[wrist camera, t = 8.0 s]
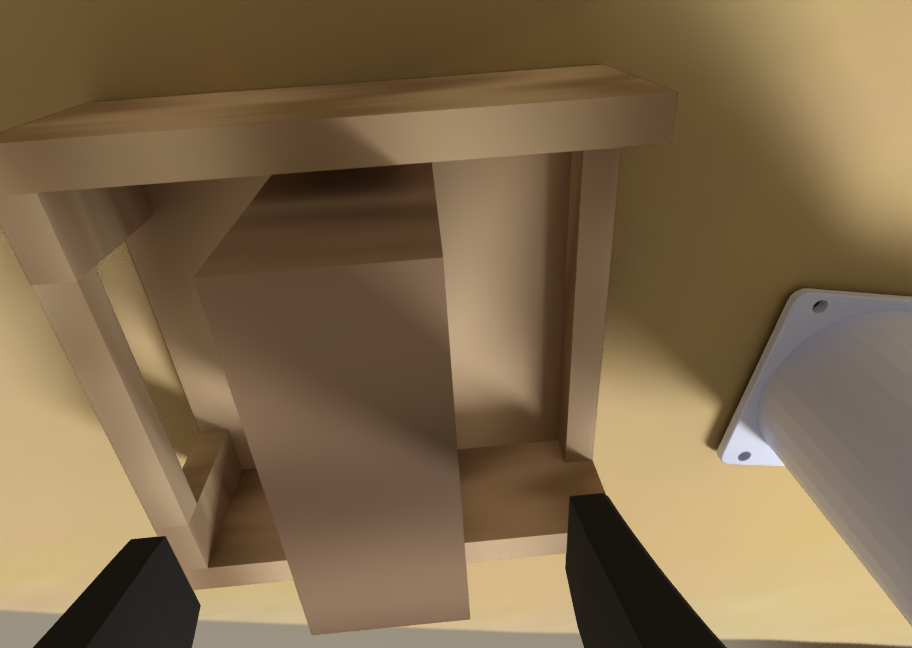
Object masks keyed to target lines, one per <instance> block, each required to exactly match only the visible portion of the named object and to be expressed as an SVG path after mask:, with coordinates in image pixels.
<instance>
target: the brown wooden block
mask: <svg viewBox="0 0 912 648" xmlns="http://www.w3.org/2000/svg"><path fill="white" fill-rule="evenodd" d="M193 280H194V283H195V286H196V289H197V292H198V295H199V298H200V301H201V304H202V307H203V310H204V313H205V316H206V319H207V322H208V325H209V328H210V331H211V334H212V337H213V340H214V343H215V346H216V349H217V352H218V355H219V358H220V361H221V364H222V367H223V370H224V373H225V376H226V379H227V382H228V385H229V388H230V391H231V394H232V397H233V400H234V403H235V406H236V409H237V412H238V415H239V418H240V421H241V424H242V427H243V430H244V433H245V436H246V439H247V442H248V445H249V448H250V451H251V454H252V457H253V460H254V463H255V466H256V469H257V472H258V475H259V478H260V481H261V484H262V487H263V490H264V493H265V496H266V499H267V502H268V505H269V508H270V511H271V514H272V517H273V520H274V523H275V526H276V529H277V532H278V535H279V538H280V541H281V544H282V547H283V550H284V553H285V556H286V559H287V562H288V565H289V568H290V571H291V574H292V577H293V580H294V583H295V586H296V589H297V592H298V595H299V598H300V601H301V604H302V607H303V610H304V613H305V616H306V619H307V622H308V625H309V628H310V631H311V634H312V635H318V634H328V633H339V632H348V631H358V630H369V629H377V628H378V629H379V628H388V627H398V626H408V625H418V624H428V623H438V622H448V621H458V620H468V619H470V610H469V597H468V583H467V570H466V556H465V543H464V530H463V516H462V503H461V489H460V476H459V462H458V449H457V436H456V422H455V409H454V395H453V382H452V368H451V355H450V342H449V328H448V315H447V301H446V288H445V274H444V261H443V251H442V243H441V235H440V226H439V218H438V210H437V202H436V193H435V185H434V177H433V168H432V162H428V163H415V164H402V165H390V166H377V167H364V168H351V169H338V170H325V171H312V172H299V173H287V174H274V175H271V176H270V178H269V179H268V180H267V181H266V183H265V184H264V185H263V187H262V188H261V189H260V191H259V192H258V193H257V195H256V196H255V197H254V198H253V200H252V201H251V202H250V204H249V205H248V206H247V208H246V209H245V210H244V212H243V213H242V214H241V215H240V217H239V218H238V219H237V221H236V222H235V223H234V225H233V226H232V227H231V229H230V230H229V231H228V233H227V234H226V235H225V236H224V238H223V239H222V240H221V242H220V243H219V244H218V246H217V247H216V248H215V250H214V251H213V252H212V253H211V255H210V256H209V257H208V259H207V260H206V261H205V263H204V264H203V265H202V267H201V268H200V269H199V270H198V272H197V273H196V274H195V276H194V277H193Z"/></svg>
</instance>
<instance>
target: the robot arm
mask: <svg viewBox="0 0 912 648" xmlns="http://www.w3.org/2000/svg"><path fill="white" fill-rule="evenodd" d="M818 301H820V303H819V304H818V305H817V306H815V307H813V306H814V304H815V303H816V302H818ZM742 452H743V453H742ZM717 455H718V457H719V458H720V460H721V461H722V462H723V463H726V464H743V465H770V466H786V468H787V469H788V470H789V471H790V473H791V474H792V475H793V477H794V478H795V479H796V480H797V482H798V483H799V484H800V485H801V487H802V488H803V489H804V490H805V492H806V493H807V494H808V496H809V497H810V498H811V499H812V501H813V502H814V503H815V504H816V506H817V507H818V508H819V509H820V511H821V512H822V513H823V515H824V516H825V517H826V518H827V520H828V521H829V522H830V523H831V525H832V526H833V527H834V529H835V530H836V531H837V532H838V534H839V535H840V536H841V537H842V539H843V540H844V541H845V542H846V544H847V545H848V546H849V548H850V549H851V550H852V551H853V553H854V554H855V555H856V556H857V558H858V559H859V560H860V561H861V563H862V564H863V565H864V567H865V568H866V569H867V570H868V572H869V573H870V574H871V575H872V577H873V578H874V579H875V580H876V582H877V583H878V584H879V586H880V587H881V588H882V589H883V591H884V592H885V593H886V594H887V596H888V597H889V598H890V599H891V601H892V602H893V603H894V605H895V606H896V607H897V608H898V610H899V611H900V612H901V613H902V615H903V616H904V617H905V619H906V620H907V621H908V622H909V624H910V625H911V626H912V296H899V295H886V294H873V293H860V292H848V291H835V290H822V289H809V288H805V289H800V290H798V291H796V292H794V293H793V294H792V295H791V296H790V297H789V299H788V301H787V303H786V305H785V307H784V309H783V311H782V313H781V315H780V318H779V320H778V322H777V324H776V326H775V328H774V330H773V332H772V335H771V337H770V339H769V341H768V343H767V345H766V347H765V349H764V352H763V354H762V356H761V358H760V360H759V362H758V364H757V366H756V369H755V371H754V373H753V375H752V377H751V379H750V381H749V384H748V386H747V388H746V390H745V392H744V394H743V396H742V398H741V401H740V403H739V405H738V407H737V409H736V411H735V413H734V415H733V418H732V420H731V422H730V424H729V426H728V428H727V430H726V432H725V435H724V437H723V439H722V441H721V443H720V445H719V447H718V450H717ZM565 569H566V574H567V578H568V583H569V588H570V593H571V598H572V602H573V607H574V612H575V616H576V621H577V625H578V629H579V632H580V635H581V638H582V642H583V645H584V648H726V647H725V645H724V644H723V643H722V642H721V641H720V640H719V639H718V638H717V637H716V635H715V634H714V633H713V632H712V631H711V630H710V629H709V627H708V626H707V625H706V624H705V623H704V622H703V620H702V619H701V618H700V617H699V616H698V615H697V613H696V612H695V611H694V610H693V609H692V607H691V606H690V605H689V604H688V602H687V601H686V600H685V599H684V598H683V596H682V595H681V594H680V593H679V591H678V590H677V589H676V588H675V587H674V585H673V584H672V583H671V582H670V580H669V579H668V578H667V577H666V575H665V574H664V573H663V572H662V570H661V569H660V568H659V567H658V565H657V564H656V563H655V561H654V560H653V559H652V557H651V556H650V555H649V553H648V552H647V551H646V549H645V548H644V547H643V545H642V544H641V543H640V541H639V540H638V539H637V537H636V536H635V535H634V533H633V532H632V530H631V529H630V528H629V526H628V525H627V523H626V522H625V521H624V519H623V518H622V516H621V515H620V513H619V512H618V510H617V509H616V508H615V506H614V505H613V503H612V501H611V500H610V498H609V497H608V496H607V495H605V494H604V493H598V494H587V495H577V496H570V497H569V514H568V532H567V549H566V567H565ZM200 606H201V605H200V603H199V601H198V599H197V597H196V595H195V593H194V591H193V589H192V587H191V585H190V583H189V581H188V579H187V577H186V575H185V573H184V571H183V569H182V567H181V566H180V564H179V562H178V560H177V558H176V556H175V554H174V552H173V550H172V548H171V546H170V544H169V542H168V540H167V538H166V536H160V537H150V538H140V539H131V540H130V541H129V542H128V543H127V544H126V545H125V546H124V547H123V549H122V550H121V551H120V552H119V553H118V554H117V555H116V556H115V557H114V558H113V560H112V561H111V562H110V563H109V564H108V565H107V566H106V567H105V568H104V570H103V571H102V572H101V573H100V574H99V575H98V576H97V577H96V578H95V580H94V581H93V582H92V583H91V584H90V585H89V586H88V587H87V589H86V590H85V591H84V592H83V593H82V594H81V595H80V596H79V597H78V599H77V600H76V601H75V602H74V603H73V604H72V605H71V606H70V607H69V609H68V610H67V611H66V612H65V613H64V614H63V615H62V616H61V618H60V619H59V620H58V621H57V622H56V623H55V624H54V625H53V626H52V627H51V629H50V630H49V631H48V632H47V633H46V634H45V635H44V636H43V637H42V638H41V640H39V641H38V643H37V644H36V645H35V646H34V647H33V648H192V644H193V639H194V635H195V629H196V625H197V620H198V615H199V611H200Z"/></svg>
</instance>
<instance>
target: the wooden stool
mask: <svg viewBox="0 0 912 648" xmlns="http://www.w3.org/2000/svg"><path fill="white" fill-rule="evenodd" d="M677 97H678V92H676V91H673V90H670V89H668V88H665V87H662V86H660V85H657V84H654V83H652V82H649V81H647V80H644V79H641V78H639V77H636V76H633V75H631V74H628V73H625V72H623V71H620V70H617V69H615V68H612V67H609V66H607V65H604V64H603V65H589V66H576V67H562V68H548V69H535V70H521V71H507V72H494V73H480V74H466V75H453V76H439V77H425V78H412V79H398V80H384V81H371V82H357V83H343V84H330V85H316V86H302V87H289V88H275V89H261V90H248V91H234V92H220V93H207V94H193V95H179V96H166V97H152V98H138V99H125V100H111V101H97V102H88V103H85V104H82V105H79V106H76V107H73V108H71V109H68V110H65V111H62V112H59V113H56V114H53V115H50V116H47V117H44V118H41V119H38V120H35V121H32V122H30V123H27V124H24V125H21V126H18V127H15V128H12V129H9V130H6V131H3V132H0V226H1V228H2V230H3V232H4V233H5V235H6V237H7V239H8V241H9V243H10V245H11V247H12V249H13V251H14V253H15V255H16V257H17V259H18V261H19V263H20V265H21V267H22V269H23V271H24V273H25V275H26V277H27V279H28V281H29V283H30V285H31V287H32V289H33V291H34V293H35V295H36V297H37V299H38V301H39V303H40V305H41V307H42V309H43V311H44V313H45V315H46V317H47V319H48V320H49V322H50V324H51V326H52V328H53V330H54V332H55V334H56V336H57V338H58V340H59V342H60V344H61V346H62V348H63V350H64V352H65V354H66V356H67V358H68V360H69V362H70V364H71V366H72V368H73V370H74V372H75V374H76V376H77V378H78V380H79V382H80V384H81V386H82V388H83V390H84V392H85V394H86V396H87V398H88V400H89V402H90V404H91V406H92V407H93V409H94V411H95V413H96V415H97V417H98V419H99V421H100V423H101V425H102V427H103V429H104V431H105V433H106V435H107V437H108V439H109V441H110V443H111V445H112V447H113V449H114V451H115V453H116V455H117V457H118V459H119V461H120V463H121V465H122V467H123V469H124V471H125V473H126V475H127V477H128V479H129V481H130V483H131V485H132V487H133V489H134V491H135V493H136V495H137V496H138V498H139V500H140V502H141V504H142V506H143V508H144V510H145V512H146V514H147V516H148V518H149V520H150V522H151V524H152V526H153V528H154V530H155V532H156V534H157V536H158V537H160V536H166V538H167V540H168V542H169V544H170V546H171V548H172V550H173V552H174V554H175V556H176V558H177V560H178V562H179V564H180V566H181V567H182V569H183V571H184V573H185V575H186V577H187V579H188V581H189V583H190V585H191V587H192V589H193V590H198V589H208V588H219V587H229V586H239V585H249V584H259V583H269V582H279V581H290V580H293V577H292V574H291V571H290V568H289V565H288V562H287V559H286V556H285V553H284V550H283V547H282V544H281V541H280V538H279V535H278V532H277V529H276V526H275V523H274V520H273V517H272V514H271V511H270V508H269V505H268V502H267V499H266V496H265V493H264V490H263V487H262V484H261V481H260V478H259V475H258V472H257V469H256V466H255V463H254V460H253V457H252V454H251V451H250V448H249V445H248V442H247V439H246V436H245V433H244V430H243V427H242V424H241V421H240V418H239V415H238V412H237V409H236V406H235V403H234V400H233V397H232V394H231V391H230V388H229V385H228V382H227V379H226V376H225V373H224V370H223V367H222V364H221V361H220V358H219V355H218V352H217V349H216V346H215V343H214V340H213V337H212V334H211V331H210V328H209V325H208V322H207V319H206V316H205V313H204V310H203V307H202V304H201V301H200V298H199V295H198V292H197V289H196V286H195V283H194V280H193V277H194V276H195V274H196V273H197V272H198V270H199V269H200V268H201V267H202V265H203V264H204V263H205V261H206V260H207V259H208V257H209V256H210V255H211V253H212V252H213V251H214V250H215V248H216V247H217V246H218V244H219V243H220V242H221V240H222V239H223V238H224V236H225V235H226V234H227V233H228V231H229V230H230V229H231V227H232V226H233V225H234V223H235V222H236V221H237V219H238V218H239V217H240V215H241V214H242V213H243V212H244V210H245V209H246V208H247V206H248V205H249V204H250V202H251V201H252V200H253V198H254V197H255V196H256V195H257V193H258V192H259V191H260V189H261V188H262V187H263V185H264V184H265V183H266V181H267V180H268V179H269V178H270V176H271V175H274V174H287V173H299V172H312V171H325V170H338V169H351V168H364V167H377V166H390V165H402V164H415V163H428V162H432V168H433V177H434V185H435V193H436V202H437V210H438V218H439V226H440V235H441V243H442V251H443V261H444V274H445V288H446V301H447V315H448V328H449V342H450V355H451V368H452V382H453V395H454V409H455V422H456V436H457V449H458V462H459V476H460V489H461V503H462V516H463V530H464V543H465V556H466V563H472V562H482V561H492V560H503V559H513V558H523V557H533V556H543V555H553V554H564V553H566V549H567V532H568V514H569V497H570V496H577V495H587V494H598V493H604V494H605V491H604V489H603V486H602V484H601V481H600V479H599V476H598V473H597V471H596V468H595V466H594V463H593V449H594V438H595V427H596V416H597V405H598V394H599V383H600V373H601V362H602V351H603V340H604V329H605V318H606V307H607V296H608V285H609V274H610V264H611V253H612V242H613V231H614V220H615V209H616V198H617V187H618V176H619V165H620V155H621V148H622V147H634V146H647V145H660V144H671V141H672V133H673V126H674V119H675V111H676V104H677ZM124 240H126V243H127V245H128V248H129V250H130V253H131V256H132V258H133V261H134V263H135V266H136V268H137V271H138V273H139V276H140V279H141V281H142V284H143V286H144V289H145V291H146V294H147V297H148V299H149V302H150V304H151V307H152V309H153V312H154V315H155V317H156V320H157V322H158V325H159V327H160V330H161V333H162V335H163V338H164V340H165V343H166V345H167V348H168V351H169V353H170V356H171V358H172V361H173V363H174V366H175V368H176V371H177V374H178V376H179V379H180V381H181V384H182V386H183V389H184V392H185V394H186V397H187V399H188V402H189V404H190V407H191V410H192V412H193V415H194V417H195V420H196V422H197V425H198V428H199V430H200V433H199V435H198V437H197V439H196V441H195V443H194V445H193V448H192V450H191V452H190V454H189V456H188V458H187V460H186V462H185V464H184V466H183V468H181V465H180V463H179V461H178V458H177V456H176V454H175V451H174V449H173V447H172V445H171V442H170V440H169V438H168V435H167V433H166V431H165V428H164V426H163V424H162V421H161V419H160V417H159V414H158V412H157V410H156V407H155V405H154V403H153V400H152V398H151V396H150V393H149V391H148V389H147V387H146V384H145V382H144V380H143V377H142V375H141V373H140V370H139V368H138V366H137V363H136V361H135V359H134V356H133V354H132V352H131V349H130V347H129V345H128V342H127V340H126V338H125V335H124V333H123V331H122V329H121V326H120V324H119V322H118V319H117V317H116V315H115V312H114V310H113V308H112V305H111V303H110V301H109V298H108V296H107V294H106V291H105V289H104V287H103V284H102V282H101V280H100V278H99V275H98V273H97V271H96V268H95V266H96V265H97V264H98V263H99V262H100V261H101V260H103V259H104V258H105V257H106V256H107V255H108V254H109V253H111V252H112V251H113V250H114V249H115V248H116V247H118V246H119V245H120V244H121V243H122V242H123V241H124ZM605 495H606V494H605Z"/></svg>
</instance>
